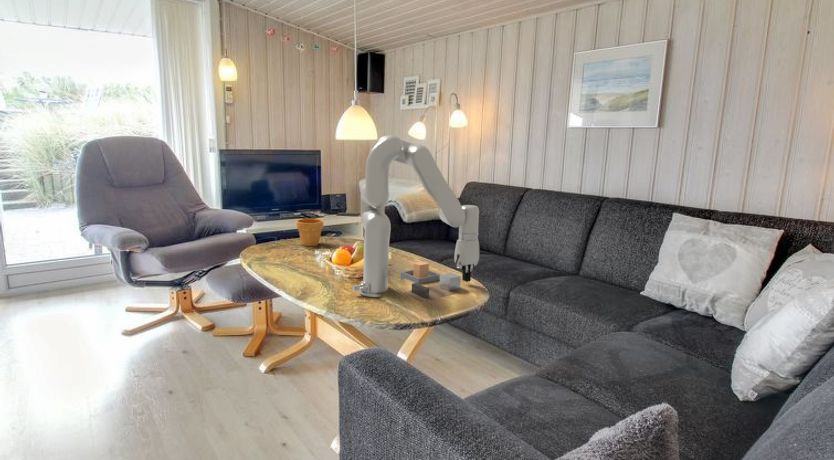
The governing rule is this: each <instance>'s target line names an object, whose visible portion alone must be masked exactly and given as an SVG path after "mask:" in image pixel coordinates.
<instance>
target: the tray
mask: <svg viewBox="0 0 834 460" xmlns="http://www.w3.org/2000/svg"><path fill="white" fill-rule="evenodd" d="M440 275H441V273H437V272H435V271H432V270H429V274H428V277H423V278H417V277H414V276H413V269H410V270H404V271H400V280H403V279H404V280H408V281H411V282H412V283H418V284H420V285H422V284H425V283H430V282H435V281H440Z"/></svg>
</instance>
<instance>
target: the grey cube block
mask: <svg viewBox="0 0 834 460" xmlns="http://www.w3.org/2000/svg"><path fill="white" fill-rule="evenodd" d="M461 280H462V276H461V275H458V274H456V273H452V272H447V273H442V274H440V280H439V284H438V285H439V287H440V288H443V289H445V290H448V291H451V290H455V289H460V288H461V282H462V281H461Z"/></svg>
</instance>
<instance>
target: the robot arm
mask: <svg viewBox="0 0 834 460" xmlns="http://www.w3.org/2000/svg"><path fill="white" fill-rule="evenodd" d="M392 162H398V163H400V164H404V165H407V166H412V169H413V171H414V172H415V174H416V176H417V178H418V180H419V182H420V183H421V185H422V187H423V189H424V190H425V191H426V193H427V194H428V195H429V196H430V197H431V198H432V199H433V200H434V201H435V203H437V205H438V207H439V211H438V216H439V217H438V218H439V219H440V220H441V221H442V222H443V223H445V224H447V225H449V226H450V227H452V228H458V239H456V243H455V249H454V255H453V257H454V260H453V262H454V264H456V269H460V270H461V271H462V276H461V280H462V281H463V282H467V283H469V282H471V280H472V279H471V278H472V272H473V270H474V269H473V268H474V267H475V266H477V265H478V263H479V260H480V243H479V220H480V219H479V218H480V209H479V207H478V206H477V205H473V204H464V205H462V203H461V202H460V200H459V199H458V197H457V195H456V194H455V193H454V190H453V189H452V188H451V186H450V184H449V183H448V182H447V181H446V179H445V177H444V175H443V173H442V172H441V170H440V168H439V167H438V164H437V163H436V160H435V159H434V157H433V155H432V153H431V151H430V150H429V148H428V147H426V146H424V145H422V144H415V143H412V142H409V141H405V140H403V139H401V138H400V137H398V136H397V135H396V136H395V135H383V136H381V137H380V138H379V139H378V140H377V142H376V144H375V145H374V147H373V148H371V150H370V152H369V154H368V156H367V158H366V162H365V183H364V184H363V185H362V187H361V191H360V223H361V225H362V227H363V228H364V236H363V237H364V240H363V273H362V274H363V277H362V278H363V280H361V281H360V283H359V284H356V285H352V286H351V289H352V291H353V292H354V291H358V293H359V294H360V295H362V296H364V297H368V298H382V297H383V298H384V296H383V295H381V294H380V293H384V292H387V291H388V290H389V263H390V262H389V259H390V256H389V254H390V238H391V228H392V227H391V226H392V225H391V221H390V218H389V217H388V216H387V214H386V213H385V212H386V211H385V208H386V204H388V201H389V197H390V194H389V193H390V191H389V175H390V174H389V173H390V172H389V171H390V166H391V163H392Z"/></svg>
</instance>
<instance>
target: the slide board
mask: <svg viewBox="0 0 834 460" xmlns="http://www.w3.org/2000/svg"><path fill="white" fill-rule="evenodd" d="M464 292H468V290H467V289H465V288H461V287H460V289H455V290H451V291H448V290H445V289H443V288H440V287H439V284H434V285H430V286H425V285H422V284H418V283H415V282H412V283H411V290H408V291H402V294H405V295H406V296H408V297H411V298H413V299H415V300H418V301H420V302H427V301H432V300H434V299H438V298H442V297H447V296H451V295H457V294H459V293H460V294H461V293H464Z"/></svg>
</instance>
